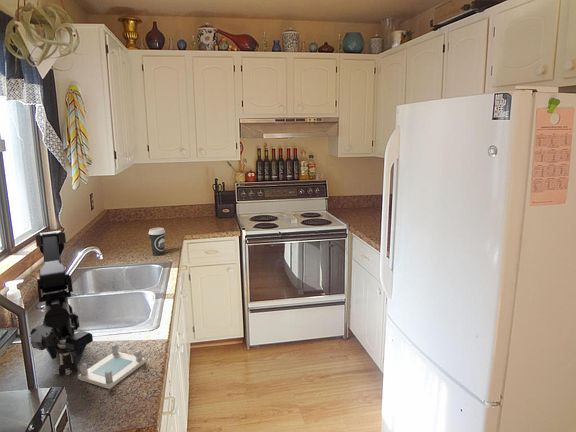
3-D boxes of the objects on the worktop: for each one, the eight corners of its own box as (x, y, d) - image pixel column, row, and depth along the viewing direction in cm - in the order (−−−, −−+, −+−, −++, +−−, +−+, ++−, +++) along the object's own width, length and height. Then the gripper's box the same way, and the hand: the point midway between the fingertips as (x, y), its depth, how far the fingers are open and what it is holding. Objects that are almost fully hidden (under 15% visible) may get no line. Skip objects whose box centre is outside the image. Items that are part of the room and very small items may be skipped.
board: (78, 379, 114) (76, 366, 113) (115, 354, 127) (114, 342, 126) (109, 389, 110) (108, 375, 109) (145, 362, 122) (144, 350, 121)
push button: (51, 380, 114) (47, 348, 112) (55, 370, 119) (51, 339, 117) (77, 375, 116) (73, 344, 114) (80, 365, 121) (76, 335, 119)
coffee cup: (167, 251, 236) (165, 226, 233) (167, 255, 227) (165, 230, 224) (150, 252, 233) (148, 228, 230) (149, 257, 224) (147, 231, 221)
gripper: (8, 319, 110) (16, 369, 113) (55, 332, 103) (63, 385, 106) (45, 303, 120) (52, 350, 123) (91, 313, 113) (97, 363, 116)
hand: (65, 361), depth 117 cm, fingers open, 9 cm apart
